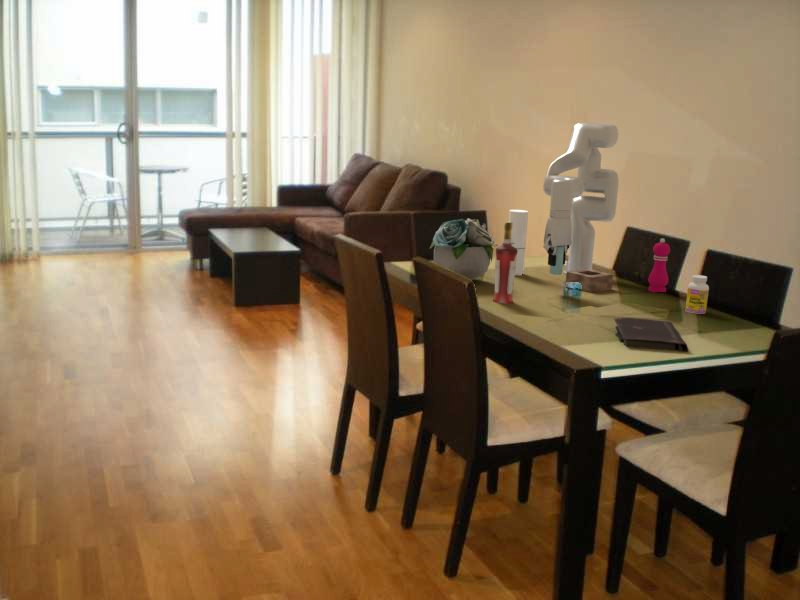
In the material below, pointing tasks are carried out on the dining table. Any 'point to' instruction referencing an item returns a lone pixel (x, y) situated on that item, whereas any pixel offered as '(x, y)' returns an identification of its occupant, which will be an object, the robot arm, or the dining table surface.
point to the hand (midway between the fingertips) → (556, 264)
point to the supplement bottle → (697, 295)
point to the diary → (649, 334)
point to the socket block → (591, 279)
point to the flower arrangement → (463, 247)
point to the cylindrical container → (519, 236)
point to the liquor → (505, 268)
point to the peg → (558, 261)
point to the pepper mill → (659, 268)
